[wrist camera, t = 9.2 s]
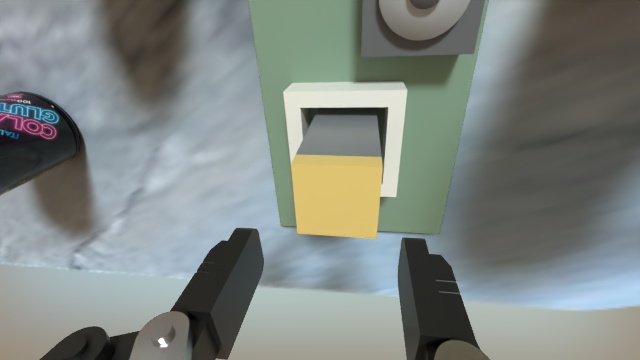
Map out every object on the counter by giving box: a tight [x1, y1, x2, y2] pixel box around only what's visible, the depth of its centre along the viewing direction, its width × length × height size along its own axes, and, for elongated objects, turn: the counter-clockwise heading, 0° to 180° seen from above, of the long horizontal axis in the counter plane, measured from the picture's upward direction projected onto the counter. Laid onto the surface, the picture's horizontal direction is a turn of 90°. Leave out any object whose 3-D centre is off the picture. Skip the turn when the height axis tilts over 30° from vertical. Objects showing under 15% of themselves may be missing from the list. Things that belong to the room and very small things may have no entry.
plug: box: [291, 107, 383, 239], centre depth 17 cm, size 4×4×9 cm
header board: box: [249, 0, 489, 234], centre depth 19 cm, size 14×22×5 cm, turn 3°
